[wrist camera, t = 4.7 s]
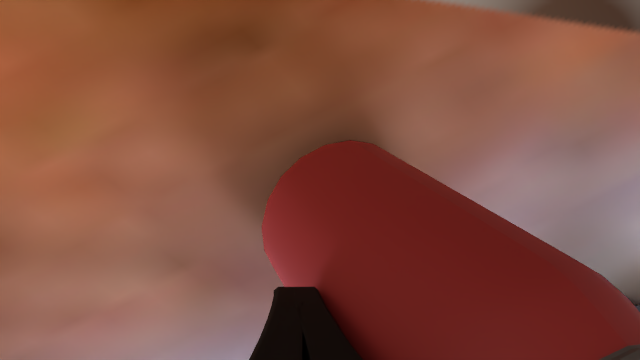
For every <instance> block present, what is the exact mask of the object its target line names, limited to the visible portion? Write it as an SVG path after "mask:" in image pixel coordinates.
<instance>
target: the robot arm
mask: <svg viewBox="0 0 640 360" xmlns="http://www.w3.org/2000/svg"><path fill="white" fill-rule="evenodd" d="M249 360H363V359H362V358H361V357H360V356H359V354H358V353H357V352H356V350H355V349H354V348H353V346H352V345H351V344H350V342H349V341H348V340H347V338H346V337H345V335H344V334H343V332H342V331H341V329H340V328H339V326H338V325H337V323H336V322H335V320H334V319H333V317H332V315H331V313H330V312H329V310H328V308H327V307H326V305H325V303H324V301H323V299H322V297H321V295H320V293H319V291H318V289H317V288H316V287H278V288H276V289H275V290H274V297H273V302H272V306H271V310H270V313H269V316H268V319H267V321H266V324H265V326H264V329H263V331H262V334H261V336H260V338H259V341H258V343H257V345H256V347H255V349H254V351H253V353H252V355H251V357H250V359H249Z"/></svg>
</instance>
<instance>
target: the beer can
mask: <svg viewBox="0 0 640 360" xmlns="http://www.w3.org/2000/svg"><path fill="white" fill-rule="evenodd" d="M262 234H263V243H264V251H265V252H266V254H267V256H268V258H269V260H270V262H271V264H272V266H273V267H274V269H275V271H276V273H277V274H278V276H279V278H280V280H281V281H282V283H283V285H284V286H285V287H316V288H317V289H318V291H319V293H320V295H321V297H322V299H323V301H324V303H325V305H326V307H327V308H328V310H329V312H330V313H331V315H332V317H333V319H334V320H335V322H336V323H337V325H338V326H339V328H340V329H341V331H342V332H343V334H344V335H345V337H346V338H347V340H348V341H349V342H350V344H351V345H352V346H353V348H354V349H355V350H356V352H357V353H358V354H359V356H360V357H361V358H362V359H363V360H640V312H639V311H638V309H637V308H636V307H635V306H634V305H633V304H632V302H631V301H630V300H629V299H628V298H627V297H626V296H625V295H624V294H622V293H621V292H620V291H619V290H618V289H617V288H616V287H615V286H613V285H612V284H611V283H610V282H609V281H608V280H607V279H606V278H604V277H603V276H602V275H600V274H599V273H597V272H595V271H594V270H592V269H590V268H589V267H587V266H585V265H584V264H582V263H580V262H579V261H577V260H575V259H573V258H572V257H570V256H568V255H566V254H565V253H563V252H561V251H559V250H558V249H556V248H554V247H552V246H551V245H549V244H547V243H545V242H544V241H542V240H540V239H538V238H537V237H535V236H533V235H531V234H530V233H528V232H526V231H524V230H523V229H521V228H519V227H517V226H516V225H514V224H512V223H510V222H509V221H507V220H505V219H504V218H502V217H500V216H498V215H497V214H495V213H493V212H491V211H490V210H488V209H486V208H484V207H483V206H481V205H479V204H477V203H476V202H474V201H472V200H470V199H469V198H467V197H465V196H463V195H462V194H460V193H458V192H456V191H455V190H453V189H451V188H449V187H448V186H446V185H444V184H442V183H441V182H439V181H437V180H435V179H434V178H432V177H430V176H428V175H427V174H425V173H423V172H421V171H420V170H418V169H416V168H414V167H413V166H411V165H409V164H407V163H406V162H404V161H402V160H401V159H399V158H397V157H395V156H394V155H392V154H390V153H388V152H387V151H385V150H383V149H381V148H380V147H378V146H376V145H374V144H371V143H365V142H358V141H352V140H349V141H344V142H339V143H333V144H328V145H324V146H322V147H320V148H318V149H316V150H314V151H312V152H311V153H309V154H307V155H305V156H303V157H301V158H300V159H299V160H298V161H297V162H296V163H295V164H294V165H293V166H292V167H291V168H290V169H289V170H288V171H286V172H285V173H284V174H283V175H282V176H281V178H280V180H279V181H278V183H277V185H276V187H275V188H274V190H273V192H272V194H271V195H270V197H269V199H268V201H267V205H266V210H265V214H264V219H263V223H262Z"/></svg>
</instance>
